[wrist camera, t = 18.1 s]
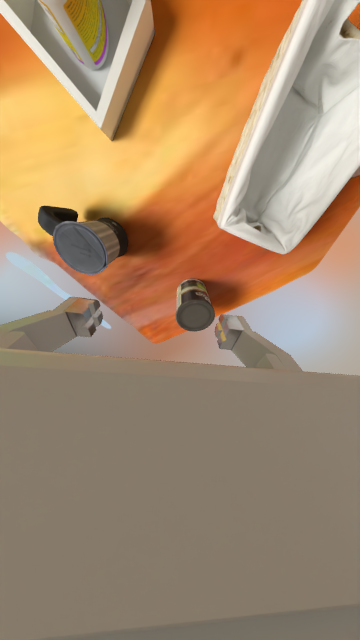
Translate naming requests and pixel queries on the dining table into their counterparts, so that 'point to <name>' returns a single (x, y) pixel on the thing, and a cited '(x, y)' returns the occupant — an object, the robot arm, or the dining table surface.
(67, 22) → the supplement bottle
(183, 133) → the dining table surface
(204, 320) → the coffee can
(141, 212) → the dining table surface
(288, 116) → the storage basket
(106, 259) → the milk frother
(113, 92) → the box
